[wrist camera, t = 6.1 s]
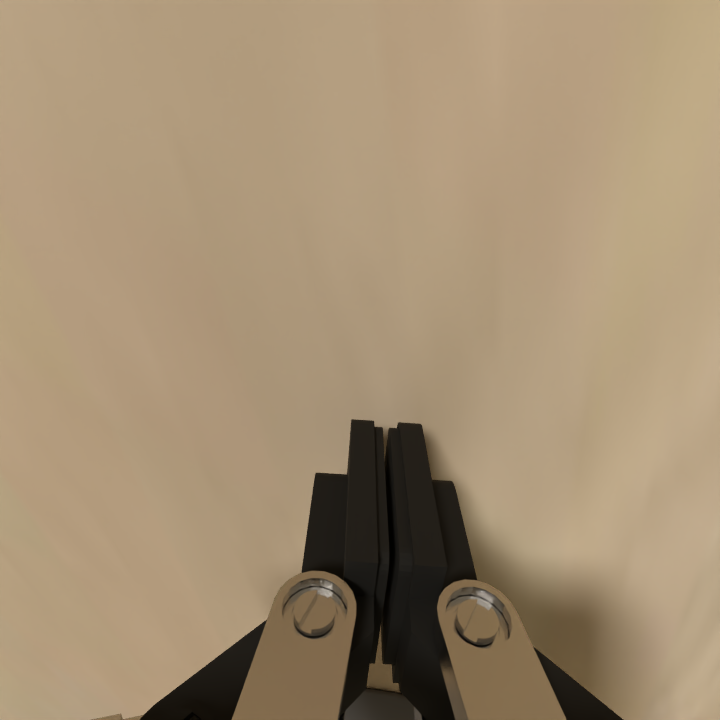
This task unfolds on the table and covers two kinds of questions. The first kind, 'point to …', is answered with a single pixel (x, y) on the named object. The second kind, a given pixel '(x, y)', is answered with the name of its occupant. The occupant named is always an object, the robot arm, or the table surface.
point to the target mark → (380, 706)
